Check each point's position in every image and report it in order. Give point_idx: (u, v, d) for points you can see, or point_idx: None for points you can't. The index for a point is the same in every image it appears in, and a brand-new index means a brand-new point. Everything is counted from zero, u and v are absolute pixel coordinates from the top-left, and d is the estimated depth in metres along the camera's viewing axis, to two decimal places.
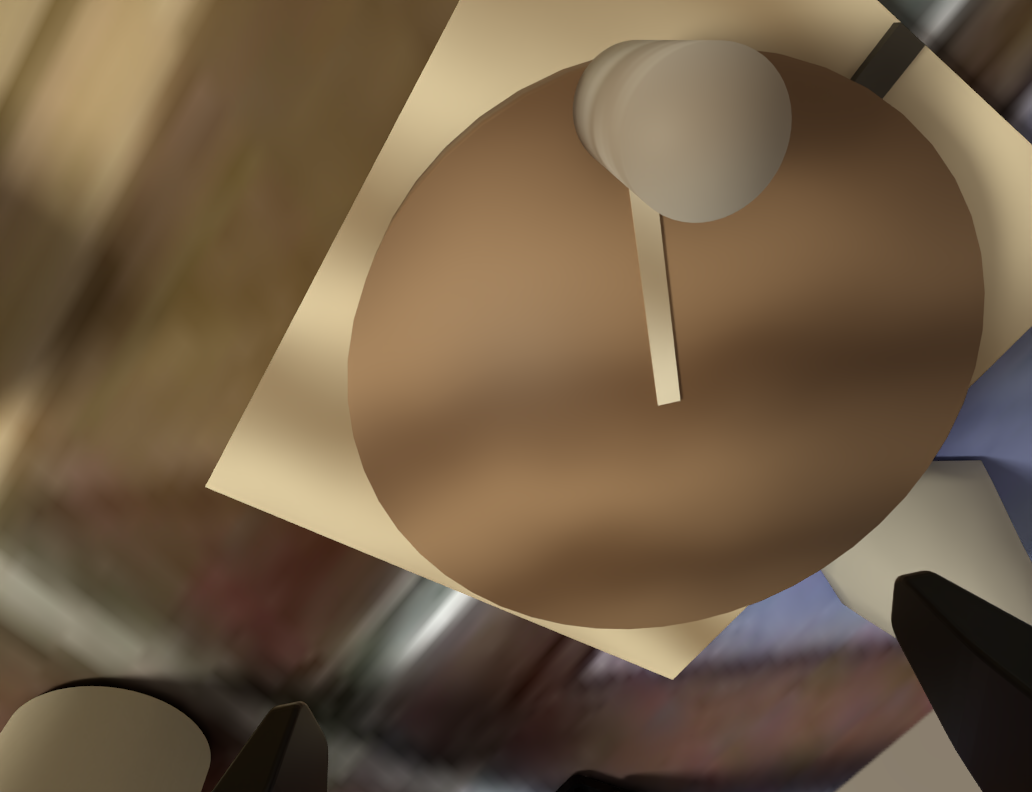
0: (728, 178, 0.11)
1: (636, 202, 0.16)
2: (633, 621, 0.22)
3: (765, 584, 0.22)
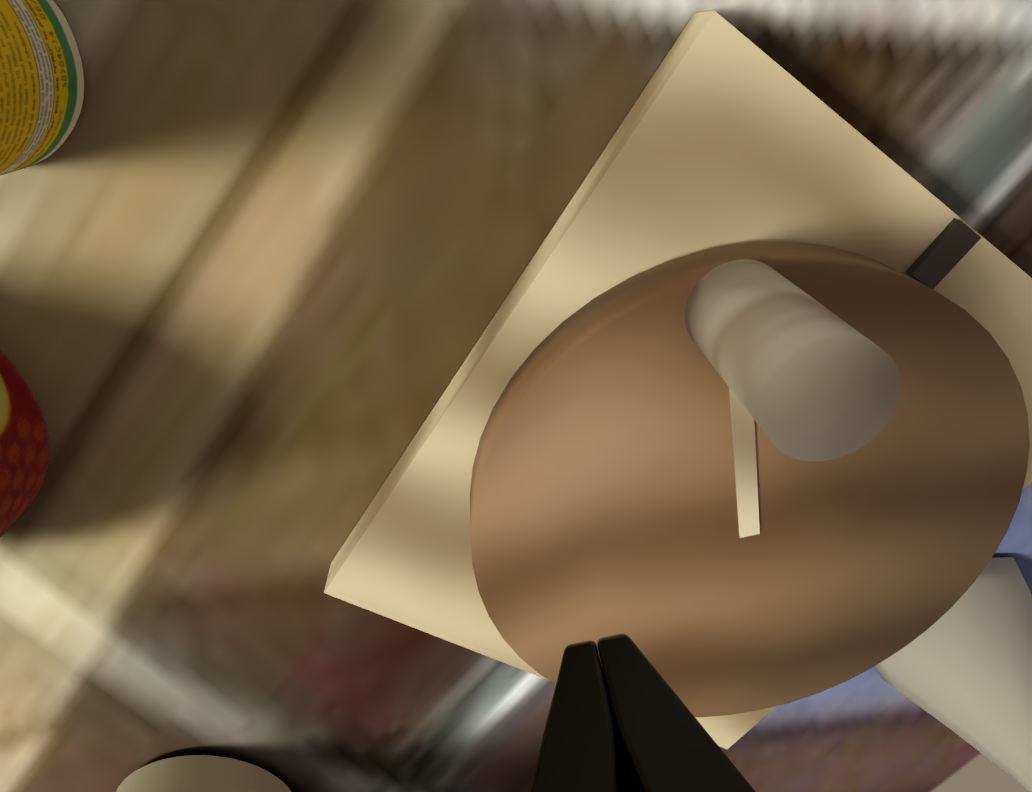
0: (846, 430, 0.13)
1: None
2: (703, 710, 0.24)
3: (823, 679, 0.24)
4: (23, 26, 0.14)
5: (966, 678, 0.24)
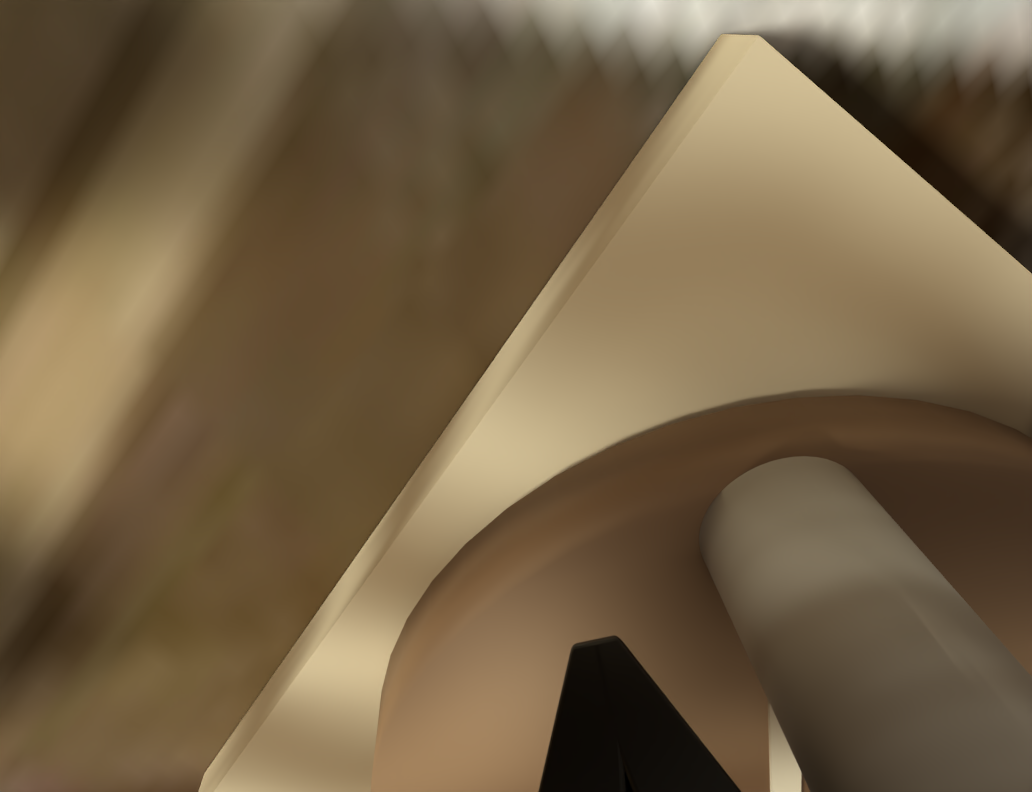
0: None
1: None
2: None
3: None
4: None
5: None
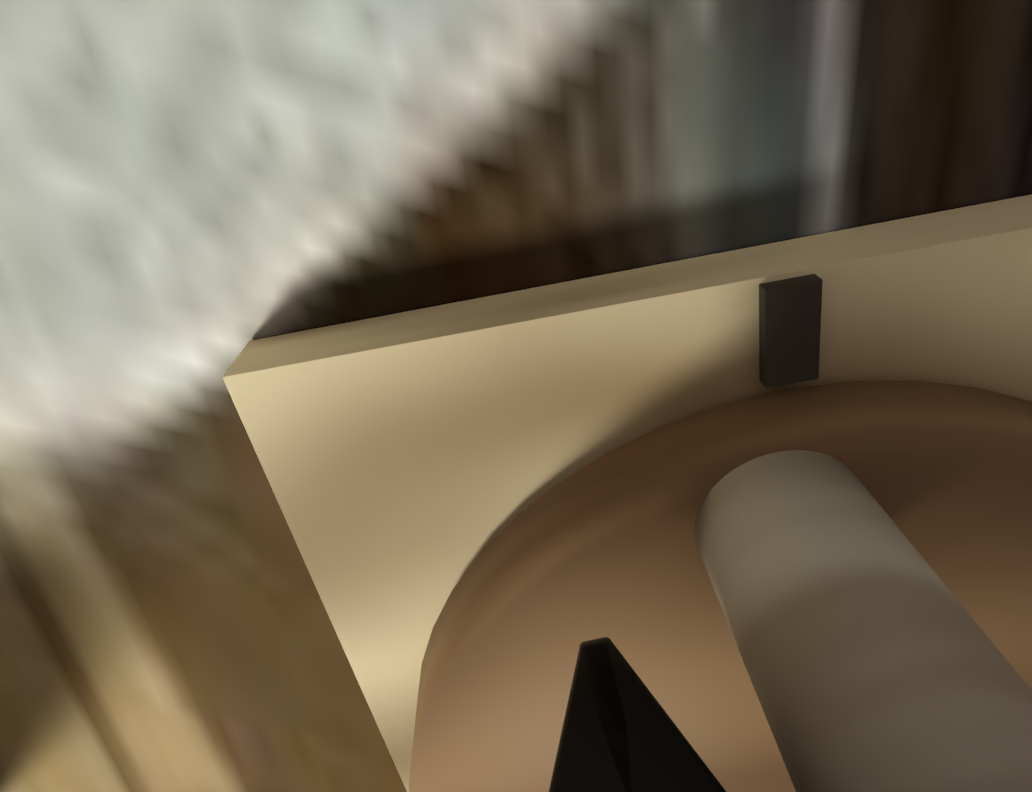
0: None
1: None
2: None
3: None
4: None
5: None
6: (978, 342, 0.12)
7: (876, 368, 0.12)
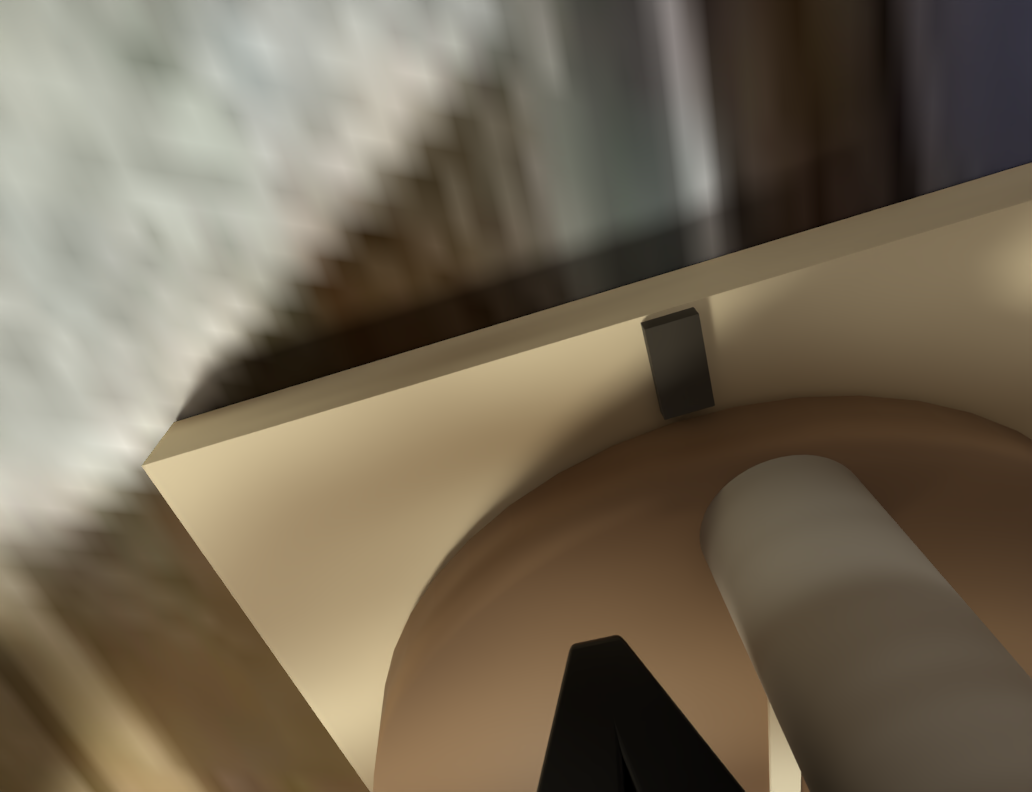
0: None
1: None
2: None
3: None
4: None
5: None
6: (870, 352, 0.12)
7: (774, 387, 0.12)
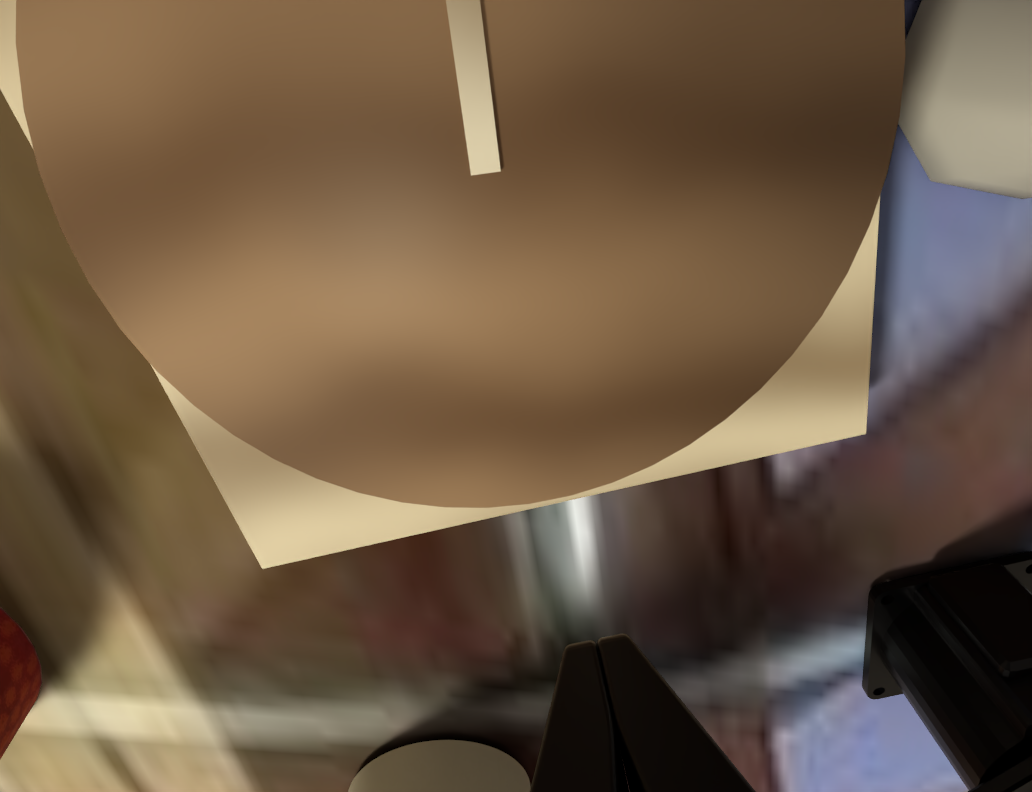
0: None
1: None
2: (450, 497, 0.17)
3: (617, 460, 0.17)
4: None
5: None
6: None
7: None
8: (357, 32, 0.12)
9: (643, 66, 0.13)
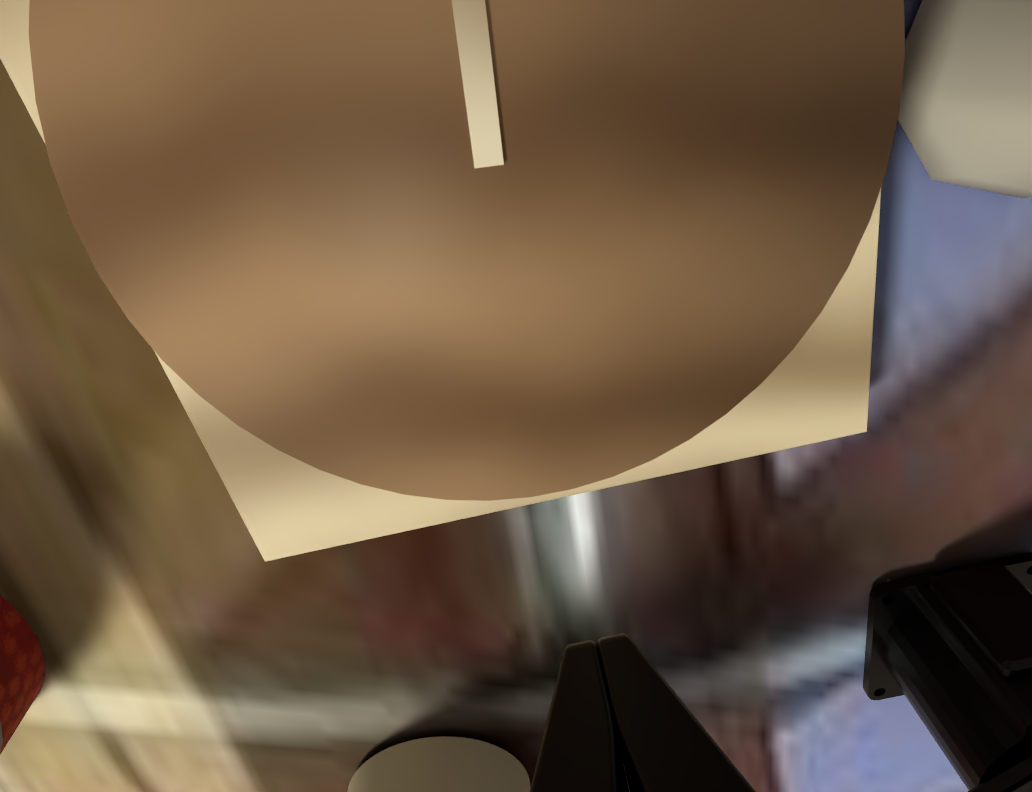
0: None
1: None
2: (452, 489, 0.18)
3: (617, 454, 0.17)
4: None
5: None
6: None
7: None
8: (363, 26, 0.12)
9: (645, 61, 0.13)
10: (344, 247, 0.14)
